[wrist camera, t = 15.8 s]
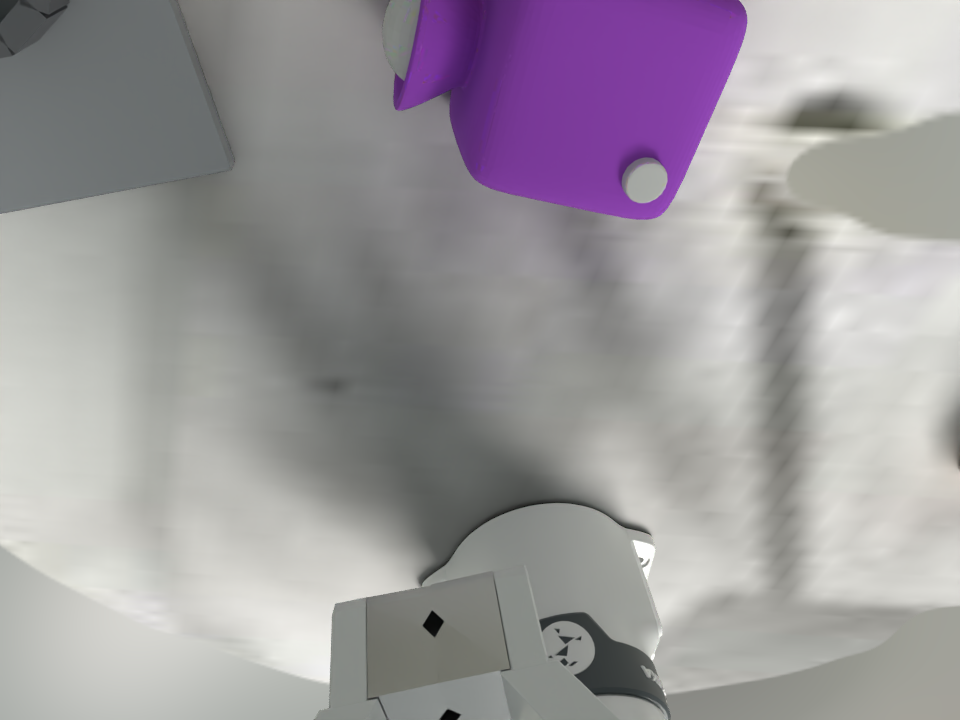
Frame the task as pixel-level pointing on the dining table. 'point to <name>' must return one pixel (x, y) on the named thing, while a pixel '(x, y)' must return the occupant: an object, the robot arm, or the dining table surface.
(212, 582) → the dining table surface
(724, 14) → the toy camera
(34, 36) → the grey segmented ring
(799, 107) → the dining table surface
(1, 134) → the board
